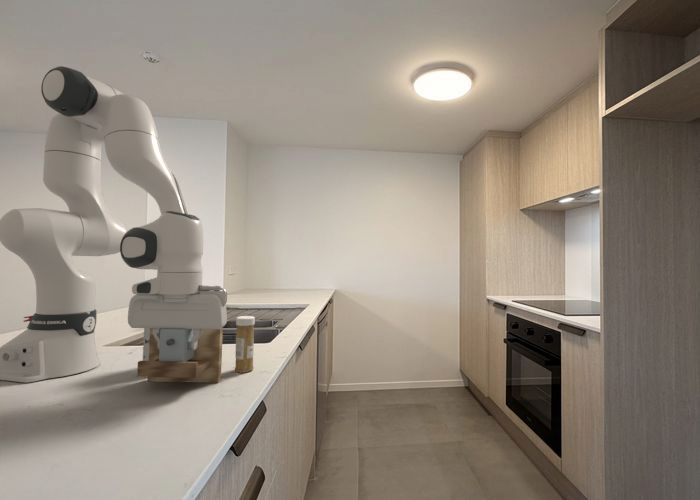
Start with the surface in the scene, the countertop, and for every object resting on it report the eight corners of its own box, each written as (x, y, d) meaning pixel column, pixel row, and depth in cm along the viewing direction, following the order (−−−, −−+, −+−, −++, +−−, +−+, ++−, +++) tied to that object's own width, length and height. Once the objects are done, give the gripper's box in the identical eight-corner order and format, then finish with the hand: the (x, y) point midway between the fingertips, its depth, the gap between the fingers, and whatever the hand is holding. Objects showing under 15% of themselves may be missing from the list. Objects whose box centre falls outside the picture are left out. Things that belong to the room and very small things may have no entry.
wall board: (126, 393, 67) (129, 334, 67) (151, 378, 75) (153, 326, 76) (204, 395, 67) (206, 336, 67) (220, 380, 76) (222, 328, 76)
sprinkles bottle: (255, 371, 82) (257, 317, 83) (237, 374, 80) (238, 318, 80) (250, 366, 86) (251, 314, 86) (232, 369, 83) (234, 316, 84)
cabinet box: (156, 364, 67) (157, 330, 68) (171, 356, 73) (173, 324, 74) (180, 364, 67) (181, 330, 68) (194, 356, 73) (195, 325, 74)
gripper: (232, 285, 75) (230, 345, 74) (143, 283, 75) (140, 344, 74) (221, 287, 69) (219, 353, 68) (124, 285, 68) (121, 352, 68)
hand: (177, 348), depth 71 cm, fingers closed on cabinet box, 5 cm apart
